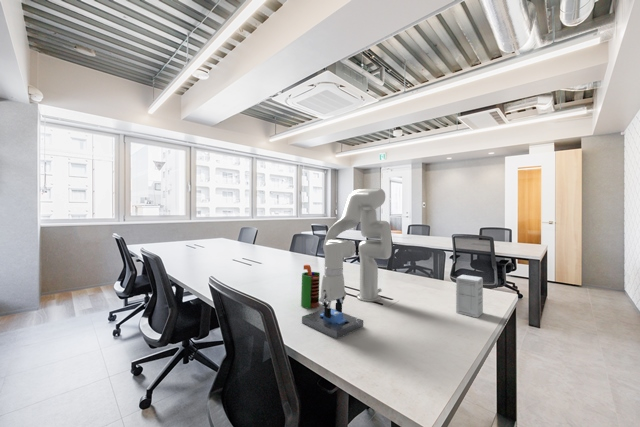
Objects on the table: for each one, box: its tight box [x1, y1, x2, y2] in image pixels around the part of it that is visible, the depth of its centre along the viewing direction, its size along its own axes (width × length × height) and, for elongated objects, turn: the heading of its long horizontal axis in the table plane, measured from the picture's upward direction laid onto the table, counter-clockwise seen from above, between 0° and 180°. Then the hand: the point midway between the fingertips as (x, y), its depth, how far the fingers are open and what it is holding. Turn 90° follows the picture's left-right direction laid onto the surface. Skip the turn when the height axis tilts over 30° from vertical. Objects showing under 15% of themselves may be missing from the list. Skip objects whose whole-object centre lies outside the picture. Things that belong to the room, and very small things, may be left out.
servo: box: [320, 308, 347, 326], centre depth 114 cm, size 4×12×6 cm, turn 43°
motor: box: [300, 264, 321, 309], centre depth 138 cm, size 10×9×20 cm
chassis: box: [301, 308, 364, 340], centre depth 115 cm, size 16×20×3 cm
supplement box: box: [455, 274, 484, 318], centre depth 130 cm, size 10×9×17 cm
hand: (333, 314), depth 114 cm, fingers open, 6 cm apart
